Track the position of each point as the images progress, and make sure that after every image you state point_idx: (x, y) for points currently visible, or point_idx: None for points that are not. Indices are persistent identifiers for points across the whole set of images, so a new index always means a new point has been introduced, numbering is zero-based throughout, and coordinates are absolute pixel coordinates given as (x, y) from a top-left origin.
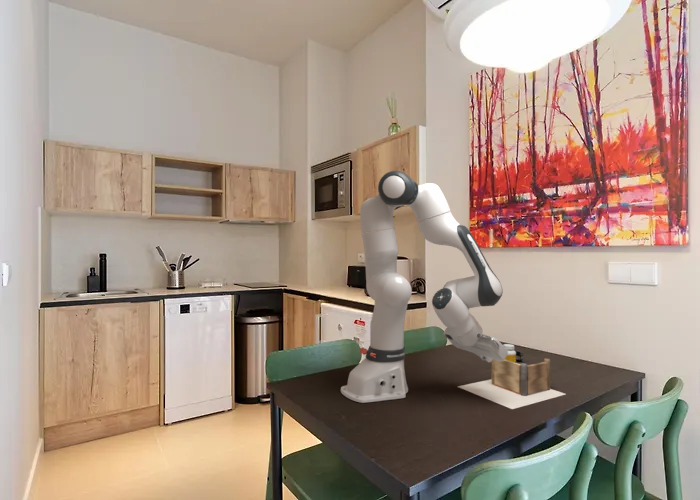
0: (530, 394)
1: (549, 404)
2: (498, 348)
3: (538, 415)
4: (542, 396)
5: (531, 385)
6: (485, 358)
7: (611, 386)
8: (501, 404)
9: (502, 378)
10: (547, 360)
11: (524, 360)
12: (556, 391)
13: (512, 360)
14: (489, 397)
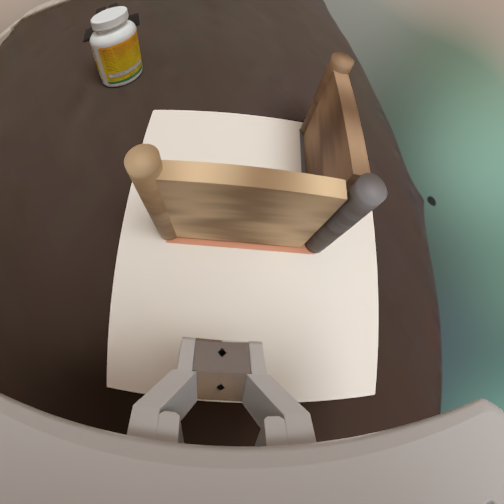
0: None
1: (391, 241)
2: (450, 437)
3: (423, 348)
4: None
5: None
6: (234, 397)
7: (344, 40)
8: (334, 398)
9: (219, 227)
10: (351, 67)
11: (128, 19)
12: None
13: (133, 51)
14: None
